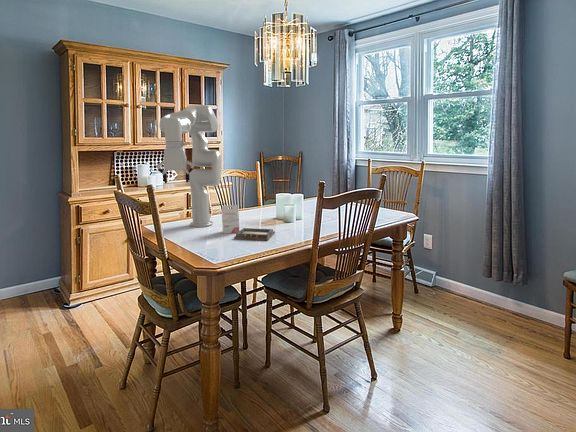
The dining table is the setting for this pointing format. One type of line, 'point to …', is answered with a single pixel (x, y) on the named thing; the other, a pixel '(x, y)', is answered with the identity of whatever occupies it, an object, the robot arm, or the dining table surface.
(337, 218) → the dining table surface
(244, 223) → the dining table surface
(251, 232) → the dock
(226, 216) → the ink cartridge box
